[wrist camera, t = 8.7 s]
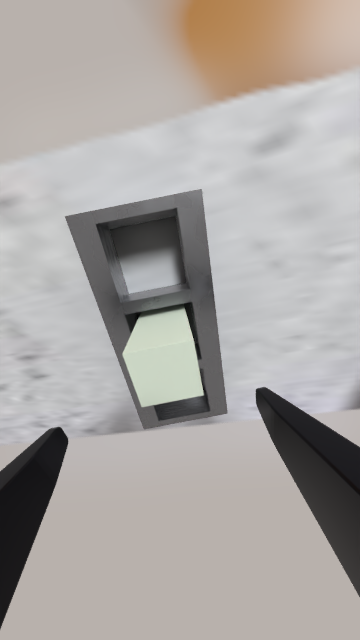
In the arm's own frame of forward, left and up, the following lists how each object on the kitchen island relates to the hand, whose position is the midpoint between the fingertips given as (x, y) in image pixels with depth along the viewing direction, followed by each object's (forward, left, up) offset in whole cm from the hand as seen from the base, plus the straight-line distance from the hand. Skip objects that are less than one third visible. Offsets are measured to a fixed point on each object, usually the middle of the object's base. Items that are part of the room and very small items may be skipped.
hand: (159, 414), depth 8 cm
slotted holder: (0, 0, -11) cm, 11 cm away
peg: (0, 0, -11) cm, 11 cm away
